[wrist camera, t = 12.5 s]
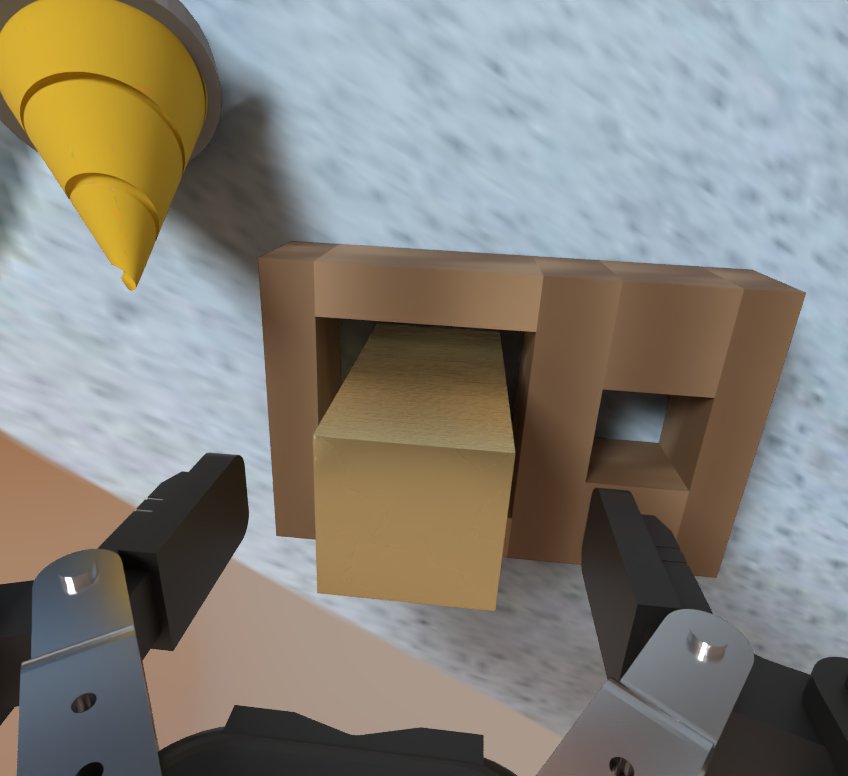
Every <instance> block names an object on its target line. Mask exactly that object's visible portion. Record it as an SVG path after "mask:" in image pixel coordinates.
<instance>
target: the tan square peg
mask: <svg viewBox="0 0 848 776" xmlns="http://www.w3.org/2000/svg"><path fill="white" fill-rule="evenodd" d="M514 460H515V446H514V439H513V431H512V423H511V415H510V408H509V400H508V392H507V384H506V377H505V369H504V361H503V354H502V346H501V338H500V332H492V331H478V330H464V329H450V328H436V327H423V326H409V325H395V324H381V323H377V325H376V327H375V329H374V330H373V332H372V334H371V335H370V337H369V339H368V341H367V342H366V344H365V346H364V348H363V349H362V351H361V353H360V355H359V356H358V358H357V360H356V361H355V363H354V365H353V367H352V368H351V370H350V372H349V374H348V375H347V377H346V379H345V381H344V382H343V384H342V386H341V387H340V389H339V391H338V393H337V394H336V396H335V398H334V400H333V401H332V403H331V405H330V407H329V408H328V410H327V412H326V414H325V415H324V417H323V419H322V420H321V422H320V424H319V426H318V427H317V429H316V431H315V433H314V434H313V466H314V499H315V531H316V563H317V593H322V594H331V595H341V596H351V597H361V598H371V599H381V600H390V601H400V602H410V603H420V604H430V605H439V606H449V607H459V608H469V609H479V610H489V611H495V608H496V600H497V592H498V585H499V577H500V569H501V561H502V554H503V546H504V538H505V530H506V522H507V515H508V507H509V499H510V491H511V484H512V476H513V468H514Z"/></svg>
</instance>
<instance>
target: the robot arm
mask: <svg viewBox="0 0 848 776" xmlns="http://www.w3.org/2000/svg"><path fill="white" fill-rule="evenodd" d="M248 519H249V508H248V497H247V487H246V476H245V465H244V460H243V458H242V457H241V456H240V455H231V454H219V453H206V454H205V455H204V456H203V457H202V458H201V459H200V460H199V461H198V462H197V464H196V465H195V466H194V467H193V468H192V469H191V470H190V471H189V472H180V473H178V474H177V475H175V476H173V477H171V478H169V479H168V480H166V481H164V482H162V483H161V484H160V485H159V486H158V487H157V488H156V489H155V490H154V491H153V492H152V493H151V494H150V495H149V496H148V499H147V500H144V501H143V502H142V503H141V504H140V505H139V506H138V508H137V510H136V511H134V512H133V513H132V514H131V515H130V516H129V517H128V518H127V519H126V520H125V521H124V522H123V523H122V524H121V525H120V526H119V527H118V528H117V529H116V530H115V531H114V532H113V533H112V534H111V535H110V536H109V537H108V538H107V539H106V540H105V541H104V542H103V543H102V545H101V546H100V547H99V548H98V549H88V550H82V551H78V552H74V553H71V554H68V555H66V556H63V557H62V558H60V559H57V560H55V561H54V562H52V563H51V564H49V565H48V566H47V567H45V568H44V569H43V570H42V571H41V572H40V573H39V574H38V575H37V577H36V578H35V580H32V581H25V582H16V583H8V584H0V725H1V724H2V723H3V721H4V720H5V719H6V717H7V716H8V715H9V714H10V712H11V711H12V710H13V709H14V707H16V706H19V725H18V751H17V752H18V753H17V776H517V775H516V774H514V773H513V772H511V771H510V770H509V769H507V768H505V767H503V766H501V765H499V764H498V763H496V762H494V761H491V760H489V759H486V758H484V757H483V735H478V734H471V733H462V732H454V731H446V730H437V729H429V728H413V729H405V730H397V731H389V732H382V733H374V734H366V735H350V734H347V733H345V732H342V731H340V730H337V729H335V728H332V727H330V726H327V725H325V724H322V723H320V722H317V721H315V720H312V719H310V718H307V717H305V716H302V715H300V714H297V713H295V712H288V711H280V710H272V709H263V708H255V707H247V706H238V705H235V706H234V708H233V710H232V712H231V714H230V717H229V719H228V721H227V723H226V726H225V727H218V728H214V729H210V730H206V731H202V732H199V733H196V734H194V735H191V736H188V737H185V738H183V739H181V740H179V741H177V742H175V743H172V744H170V745H169V746H167V747H165V748H163V749H162V750H159V745H158V740H157V734H156V729H155V724H154V719H153V713H152V708H151V703H150V698H149V693H148V687H147V682H146V677H145V672H144V667H143V662H142V661H143V659H144V658H145V656H146V655H147V653H148V652H149V650H150V649H159V650H168V651H173V650H174V649H175V647H176V646H177V644H178V642H179V641H180V639H181V638H182V636H183V634H184V633H185V631H186V630H187V628H188V626H189V625H190V623H191V622H192V620H193V618H194V617H195V615H196V614H197V612H198V610H199V609H200V607H201V605H202V604H203V602H204V601H205V599H206V598H207V596H208V594H209V592H210V591H211V589H212V588H213V586H214V585H215V583H216V581H217V580H218V578H219V577H220V575H221V573H222V572H223V570H224V569H225V567H226V565H227V564H228V562H229V561H230V559H231V557H232V556H233V554H234V553H235V551H236V549H237V548H238V546H239V544H240V543H241V541H242V540H243V538H244V535H245V533H246V530H247V525H248ZM581 566H582V574H583V578H584V582H585V586H586V591H587V595H588V599H589V603H590V607H591V612H592V616H593V620H594V624H595V629H596V633H597V637H598V641H599V645H600V650H601V654H602V658H603V662H604V666H605V671H606V675H607V679H608V680H607V681H606V682H605V683H604V685H603V686H602V687H601V689H600V690H599V691H598V693H597V694H596V695H595V697H594V698H593V699H592V701H591V702H590V703H589V705H588V706H587V707H586V709H585V710H584V712H583V713H582V714H581V716H580V717H579V718H578V720H577V721H576V722H575V724H574V725H573V726H572V728H571V729H570V730H569V732H568V733H567V734H566V736H565V737H564V739H563V740H562V741H561V743H560V744H559V745H558V747H557V748H556V749H555V751H554V752H553V754H552V755H551V756H550V757H549V759H548V760H547V761H546V763H545V764H544V766H543V767H542V768H541V770H540V771H539V772H538V774H537V775H536V776H848V659H847V658H842V657H828V658H824V659H821V660H820V661H818V662H817V663H816V664H815V666H814V668H813V670H812V673H811V675H809V674H806V673H803V672H801V671H798V670H795V669H792V668H789V667H786V666H783V665H780V664H777V663H774V662H771V661H769V660H766V659H764V658H761V657H759V656H757V655H755V654H754V653H753V649H752V647H751V645H750V643H749V642H748V640H747V639H746V638H745V637H744V635H743V634H742V633H741V632H740V631H739V630H737V629H736V628H735V627H734V626H733V625H731V624H730V623H728V622H727V621H725V620H723V619H721V618H720V617H717V616H715V615H713V613H712V611H711V609H710V607H709V605H708V603H707V601H706V599H705V597H704V595H703V593H702V591H701V589H700V587H699V585H698V583H697V581H696V579H695V577H694V575H693V573H692V571H691V569H690V567H689V566H687V561H686V559H685V557H684V555H683V553H682V552H680V547H679V545H678V543H677V541H676V539H675V537H674V535H673V533H672V531H671V530H670V529H669V528H668V527H666V526H665V525H664V524H663V523H662V522H661V521H660V520H659V519H658V518H657V517H656V516H654V515H644V514H641V513H640V511H639V509H638V506H637V504H636V502H635V499H634V497H633V495H632V493H631V492H630V491H629V490H618V489H607V488H594V490H593V492H592V495H591V500H590V506H589V511H588V516H587V522H586V527H585V532H584V538H583V543H582V552H581Z"/></svg>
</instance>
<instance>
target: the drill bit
mask: <svg viewBox="0 0 848 776" xmlns="http://www.w3.org/2000/svg"><path fill="white" fill-rule="evenodd" d="M221 107H222V98H221V88H220V82H219V78H218V74H217V69H216V65H215V62H214V58H213V55H212V52H211V49H210V46H209V43H208V41H207V39H206V37H205V35H204V33H203V32H202V30H201V28H200V26H199V24H198V23H197V21H196V20H195V19H194V18H193V16H192V15H191V14H190V12H189V11H188V10H187V9H186V7H185V6H184V5H183V4H182V3H181V2H180V1H179V0H0V120H1V121H2V122H3V123H4V124H5V125H6V126H7V127H8V128H9V129H10V130H11V131H12V132H13V133H14V134H15V135H16V136H17V137H18V138H19V139H20V140H22V141H23V142H25V143H26V144H27V145H29V146H30V147H32V148H33V149H34V150H36V151H37V152H38V153H39V154H40V155H41V157H42V158H43V160H44V161H45V163H46V165H47V166H48V168H49V169H50V171H51V172H52V174H53V175H54V177H55V178H56V180H57V181H58V183H59V184H60V186H61V187H62V189H63V191H64V192H65V194H66V195H67V197H68V198H69V199H70V200H71V203H72V204H73V206H74V207H75V209H76V210H77V212H78V214H79V215H80V217H81V218H82V220H83V221H84V223H85V224H86V226H87V227H88V229H89V230H90V232H91V233H92V235H93V236H94V238H95V240H96V241H97V243H98V244H99V246H100V247H101V249H102V250H103V252H104V253H105V255H106V256H107V258H108V259H109V261H110V262H111V264H112V265H114V266H116V267H118V268H120V269H122V270H123V271H124V274H123V275H122V277H121V279H122V281H123V282H124V284H125V285H126V286H127V288H128V289H129V290H131V291H132V290H135V289H136V287H137V285H138V282H139V280H140V278H141V276H142V273H143V271H144V268H145V266H146V263H147V261H148V259H149V256H150V254H151V251H152V249H153V246H154V244H155V241H156V239H157V237H158V234H159V232H160V229H161V227H162V224H163V222H164V220H165V217H166V215H167V212H168V210H169V207H170V205H171V203H172V200H173V198H174V195H175V193H176V190H177V188H178V185H179V183H180V180H181V178H182V176H183V173H184V171H185V169H186V166H187V164H188V162H190V161H191V160H193V159H194V158H195V157H196V156H197V155H198V154H199V153H200V152H202V151H203V150H204V149H205V147H206V146H207V145H208V143H209V142H210V140H211V139H212V137H213V136H214V134H215V131H216V128H217V126H218V123H219V121H220V114H221Z"/></svg>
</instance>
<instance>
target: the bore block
mask: <svg viewBox="0 0 848 776" xmlns="http://www.w3.org/2000/svg"><path fill="white" fill-rule="evenodd" d="M258 266H259V281H260V296H261V311H262V326H263V341H264V356H265V371H266V386H267V401H268V416H269V431H270V446H271V461H272V476H273V491H274V506H275V521H276V536H284V537H294V538H305V539H315V540H316V531H315V499H314V466H313V434H314V433H315V431H316V429H317V427H318V426H319V424H320V422H321V420H322V419H323V417H324V415H325V414H326V412H327V410H328V408H329V407H330V405H331V403H332V401H333V400H334V398H335V396H336V394H337V393H338V391H339V389H340V387H341V358H340V318H344V319H358V320H372V321H386V322H400V323H415V324H429V325H443V326H457V327H472V328H486V329H500V330H514V331H524V334H523V342H522V351H521V359H520V367H519V375H518V384H517V392H516V400H515V408H514V417H513V425H512V431H513V439H514V446H515V460H514V468H513V476H512V484H511V491H510V499H509V507H508V515H507V522H506V530H505V538H504V546H503V554H502V557H505V558H515V559H526V560H537V561H547V562H558V563H568V564H579V565H581V552H582V543H583V538H584V532H585V527H586V522H587V516H588V511H589V506H590V500H591V495H592V492H593V490H594V488H607V489H618V490H629V491H630V492H631V493H632V495H633V497H634V499H635V502H636V504H637V506H638V509H639V511H640V513H641V514H644V515H654V516H656V517H657V518H658V519H659V520H660V521H661V522H662V523H663V524H664V525H665V526H666V527H668V528H669V529H670V530H671V531H672V533H673V535H674V537H675V539H676V541H677V543H678V545H679V547H680V552H682V553H683V555H684V557H685V559H686V561H687V566H689V567H690V569H691V571H692V573H693V575H695V576H705V577H717V574H718V571H719V568H720V565H721V562H722V558H723V555H724V552H725V549H726V546H727V543H728V539H729V536H730V533H731V530H732V527H733V523H734V520H735V517H736V514H737V511H738V508H739V504H740V501H741V498H742V495H743V492H744V489H745V485H746V482H747V479H748V476H749V473H750V469H751V466H752V463H753V460H754V457H755V454H756V450H757V447H758V444H759V441H760V438H761V435H762V431H763V428H764V425H765V422H766V419H767V416H768V412H769V409H770V406H771V403H772V400H773V396H774V393H775V390H776V387H777V384H778V381H779V377H780V374H781V371H782V368H783V365H784V362H785V358H786V355H787V352H788V349H789V346H790V343H791V339H792V336H793V333H794V330H795V327H796V323H797V320H798V317H799V314H800V311H801V308H802V304H803V301H804V298H805V295H806V293H805V292H803V291H801V290H798V289H796V288H794V287H791V286H789V285H787V284H784V283H782V282H780V281H777V280H775V279H773V278H770V277H768V276H766V275H763V274H761V273H758V272H756V271H754V270H747V269H731V268H715V267H699V266H683V265H666V264H650V263H634V262H618V261H602V260H586V259H570V258H554V257H538V256H522V255H506V254H489V253H473V252H457V251H441V250H425V249H409V248H393V247H377V246H361V245H345V244H329V243H313V242H296V241H292V242H289V243H287V244H285V245H283V246H281V247H279V248H277V249H275V250H273V251H271V252H269V253H267V254H265V255H262V256H260V257H258ZM603 390H616V391H630V392H643V393H656V394H669V395H670V398H669V403H668V407H667V411H666V415H665V419H664V424H663V428H662V432H661V436H660V441H659V443H652V442H640V441H628V440H615V439H603V438H594V434H595V428H596V423H597V418H598V412H599V407H600V401H601V396H602V391H603Z"/></svg>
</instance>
